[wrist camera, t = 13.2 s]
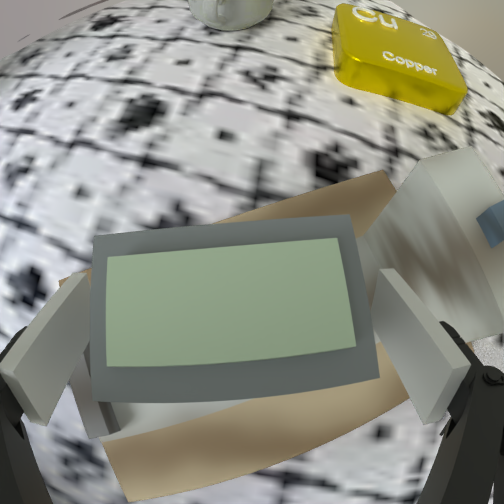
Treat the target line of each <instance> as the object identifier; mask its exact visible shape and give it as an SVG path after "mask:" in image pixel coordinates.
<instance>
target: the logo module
mask: <svg viewBox="0 0 504 504" xmlns="http://www.w3.org/2000/svg"><path fill="white" fill-rule="evenodd" d="M90 370H91V387H92V401H100V402H120V403H193V402H214V401H229V400H242V399H253V398H262V397H271V396H280V395H288V394H295V393H302V392H309V391H315V390H321V389H327V388H333V387H338V386H344V385H349V384H354V383H359V382H364V381H368V380H373V379H377V378H380V374H379V366H378V358H377V351H376V344H375V338H374V331H373V325H372V319H371V313H370V307H369V302H368V296H367V291H366V286H365V281H364V276H363V271H362V266H361V261H360V256H359V252H358V247H357V243H356V238H355V234H354V230H353V226H352V222H351V217H350V214H346V215H329V216H313V217H298V218H284V219H270V220H257V221H244V222H232V223H220V224H208V225H197V226H186V227H175V228H165V229H155V230H145V231H135V232H125V233H116V234H107V235H98V236H94V243H93V255H92V269H91V287H90Z"/></svg>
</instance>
